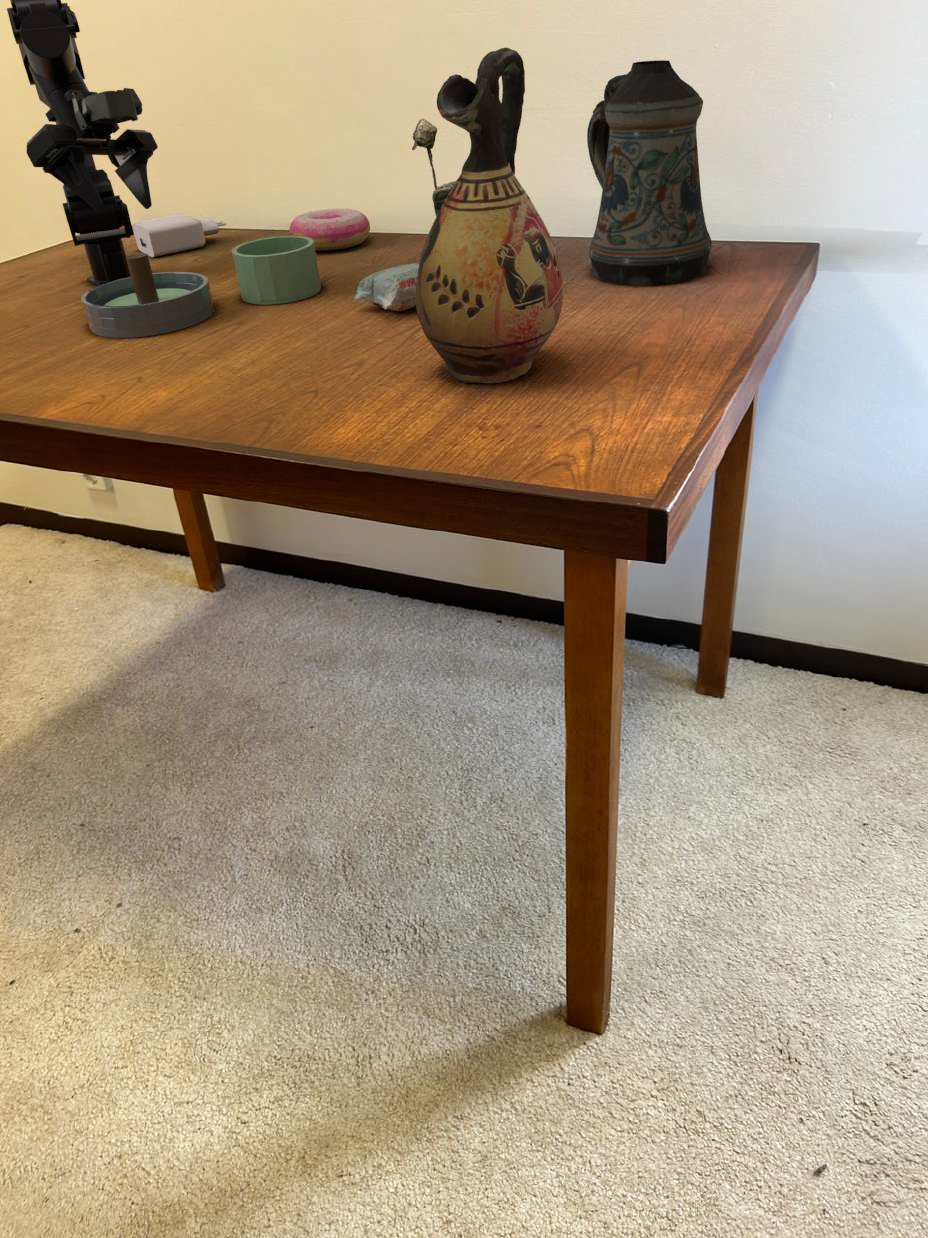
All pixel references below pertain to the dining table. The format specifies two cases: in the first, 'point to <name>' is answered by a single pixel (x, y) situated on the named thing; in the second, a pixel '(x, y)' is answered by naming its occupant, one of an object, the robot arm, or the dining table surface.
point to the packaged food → (390, 288)
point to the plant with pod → (426, 139)
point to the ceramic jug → (488, 240)
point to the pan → (148, 307)
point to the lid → (144, 284)
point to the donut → (332, 228)
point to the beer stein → (648, 179)
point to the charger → (173, 234)
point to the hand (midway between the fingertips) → (125, 208)
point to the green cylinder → (277, 270)
